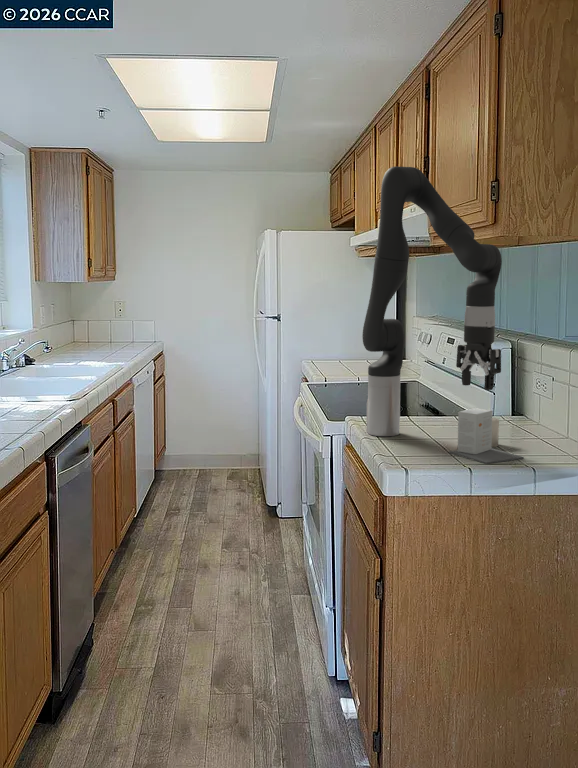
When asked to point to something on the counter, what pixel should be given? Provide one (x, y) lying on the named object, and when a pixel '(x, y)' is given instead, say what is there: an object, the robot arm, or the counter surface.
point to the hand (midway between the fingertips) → (477, 387)
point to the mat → (489, 456)
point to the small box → (474, 430)
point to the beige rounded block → (495, 432)
